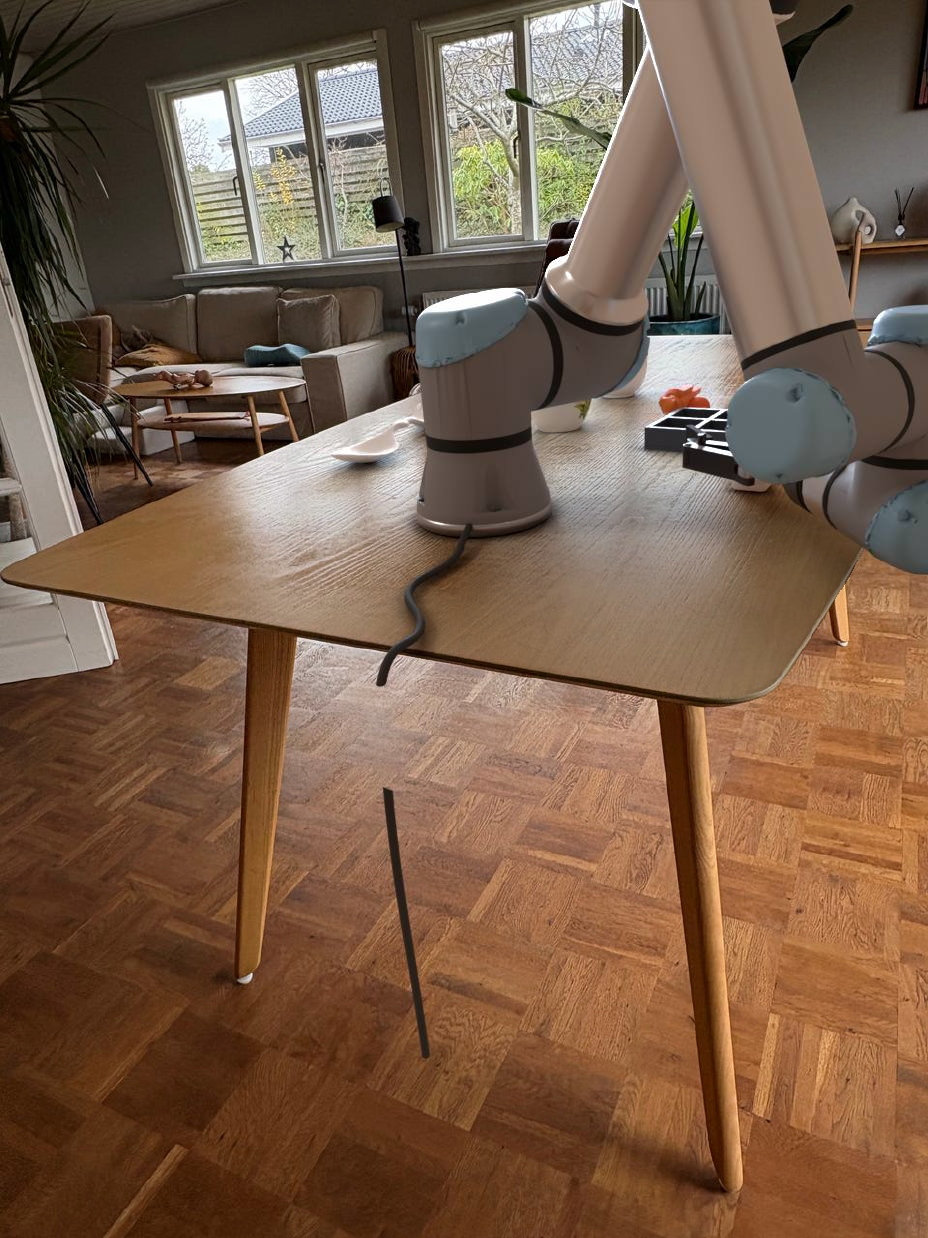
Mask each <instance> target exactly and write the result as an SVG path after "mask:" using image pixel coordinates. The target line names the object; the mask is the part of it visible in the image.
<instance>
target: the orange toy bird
mask: <svg viewBox="0 0 928 1238" xmlns="http://www.w3.org/2000/svg"><path fill="white" fill-rule="evenodd" d="M701 390H702V387H701V386H699V385H693V384H690V383H688V382H687V383H686V384H683V385H681V386H679V387H669V388H667V389H666V390H665V392H664V394H662V395H661V396H660V398H659V400H658V405H659V407H660V410H661V412H662V413H663V415H664V416H666V415H668V414H670V413H671V412H673V411H675V410H677V409H679V408H681V407H688V408H709V409H711V403H710V401H709V400H708V398H707V397H704V396H702V395H699V394H700V393H701Z"/></svg>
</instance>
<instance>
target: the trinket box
mask: <svg viewBox="0 0 928 1238" xmlns="http://www.w3.org/2000/svg"><path fill="white" fill-rule="evenodd" d="M648 356H649V352H648V353H647V356H646V359H645V361H644V363H643V365H642V367H641V369H640V371H639V372H638V373H637V375H636V376H635V377H634V378H633V379H632V380H631V381H630V382H629V383H628V384H627V385H625V386H624V387H622V388H620V389H618V390H616V391H613V392H610V393H609V394H606V395H604V396H602V397H601V398H603V399H624V398H629V397H633V396H635V393H636V392H637V391H638V390H639V389H640V388H641V386H642V385H643V383H644V381H645V378H646V374H647V369H648Z"/></svg>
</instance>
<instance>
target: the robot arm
mask: <svg viewBox="0 0 928 1238" xmlns="http://www.w3.org/2000/svg"><path fill="white" fill-rule="evenodd" d="M620 1H621V2H622V3H623V4H624V5H626V6H628V7H631V8H634V9H638V12H639V16H640V20H641V23H642V27H643V29H644V33H645V36H646V37H645V38H646V40H647V45H646V47H645V50H644V51H643V55H642V57H641V60H640V63H639V65H638V68H637V71H636V72H635V73H636V74H635V76H634V79H633V81H632V84H631V86H630V89H629V92H628V95H627V97H626V99H625V103H624V105H623V108H622V111H621V113H620V116H619V118H618V121H617V124H616V127H615V128H614V131H613V133H612V137H611V139H610V142H609V144H608V147H607V150H606V152H605V156H604V158H603V161H602V163H601V166H600V168H599V171H598V174H597V177H596V179H595V182H594V184H593V187H592V190H591V192H590V195H589V197H588V200H587V203H586V205H585V208H584V211H583V214H582V216H581V219H580V221H579V223H578V226H577V229H576V231H575V234H574V237H573V240H572V242H571V245H570V247H569V251H568V253H567V254H566V255H564V256H560V257H558V258H557V259H555V260H553V261H551V262H550V263H549V265H548V266H547V268H546V271H545V273H544V276H543V279H542V281H541V285H540V286H539V287H540V288H539V289H538V292H537V294H536V296H535V297H534V298H528V299H527V298H526V294H525V292H524V291H522V289H519V288H508V287H506V288H495V289H488V290H483V291H478V292H476V293H467V294H462V295H458V296H454V297H451V298H448V299H445V300H442V301H439V302H437V303H434V304H432V305H430V306H428V307H427V308H425V309H424V310H423V311H422V312H421V313H420V314H419V316H418V318H417V319H416V321H415V322H416V323H415V355H414V356H415V357H414V358H415V361H416V364H417V368H418V378H419V387H420V397H421V408H422V409H423V417H424V426H425V428H424V434H425V435H424V436H425V444H426V445H425V446H426V457H425V463H424V467H423V470H422V471H423V472H422V475H421V480H420V486H419V492H418V495H417V499H416V516H417V523H418V525H419V526H420V527H421V528H423V529H425V530H426V531H429V532H432V533H434V534H437V535H442V536H449V537H457V538H458V537H459V539H458V541H457V545H456V547H455V550H454V552H453V553H452V555H451V556H450V557H448V558H447V559H446V560H444V561H443V562H441V563H440V564H438V565H436V566H434V567H432V568H430V569H428V570H427V571H424V572H423V573H421V574H419V575H418V576H416V577H415V578H414V579H413V580H412V581H411V582H409V584H408V585H407V587H406V588H405V590H404V595H403V596H404V597H403V599H404V603H405V605H406V608H407V609H408V610H409V613H411V615H412V616H413V618H414V621H415V628H414V630H413V632H412V633H411V634H409V635H408V636H406V637H405V638H403V639H401V640H399V641H397V642H396V643H395V644H394V645H392V647H390V649H389V650H388V651H387V652H386V654H385V655H384V657H383V659H382V661H381V663H380V667H379V669H378V673H377V675H376V681H375V685H376V687H379V688H380V687H381V688H382V687H384V686H386V685H387V683H388V677H389V674H390V672H391V671H390V670H391V668H392V665H393V663H394V661H395V659H396V658H397V656H399V655H400V654H401V653H402V652H404V650H406V649H408V648H410V647H411V646H413V645H414V644H416V643H418V641H420V640H421V638H422V637H423V636H424V633H425V629H426V619H425V617H424V614H423V612H422V611H421V609H420V608H419V607H418V606H417V604H416V603H415V600H414V596H413V595H414V592H415V591H416V589H417V588H418V587H419V586H421V585H422V584H424V583H426V582H427V581H428V580H430V579H432V578H434V577H436V576H438V575H440V574H441V573H443V572H445V571H446V570H448V569H450V568H451V567H452V566H453V565H454V564H455V563H456V562H458V560H459V559H460V558H461V556H462V554H463V552H464V550H465V546H466V543H467V541H468V539H469V538H482V537H484V538H485V537H495V536H501V535H508V534H512V533H517V532H521V531H524V530H528V529H530V528H533V527H536V526H537V525H540V524H541V523H543V522H544V521H546V520H547V519H548V518H549V517H550V516H551V514H552V512H553V511H552V508H553V507H552V498H551V491H550V487H549V485H548V484H547V481H546V478H545V475H544V472H543V469H542V466H541V464H540V461H539V458H538V456H537V452H536V450H535V448H534V443H533V428H532V419H531V412H532V411H536V410H541V409H545V408H550V407H555V406H560V405H564V404H569V403H574V402H579V401H583V400H590V399H592V400H593V399H594V400H596V399H600V398H603V397H602V396H604V395H606V394H609V393H610V392H613V391H616V390H618V389H620V388H622V387H624V386H625V385H627V384H628V383H629V382H630V381H631V380H632V379H633V378H634V377H635V376H636V375H637V373H638V372H639V371H640V369H641V367H642V365H643V363H644V361H645V359H646V356H647V353H648V354H649V349H650V343H651V337H649V336H648V332H647V331H648V330H650V329H651V324H650V323H651V322H650V318H649V315H648V311H649V306H650V305H649V299H648V296H647V294H646V291H645V288H644V286H645V284H646V282H647V280H648V278H649V275H650V273H651V271H652V269H653V267H654V266H655V263H656V261H657V259H658V257H659V254H660V252H661V251H662V248H663V245H664V244H665V243H666V240H667V237H668V235H669V233H670V231H671V230H672V227H673V225H674V223H675V222H676V221H675V220H676V219H677V216H678V215H679V213H680V210H681V208H682V206H683V204H684V202H685V200H686V197H687V195H688V193H689V191H690V193H691V197H692V199H693V204H694V208H695V211H696V214H697V218H698V222H699V225H700V228H701V231H702V235H703V239H704V242H705V245H706V249H707V252H708V255H709V259H710V263H711V266H712V270H713V274H714V277H715V281H716V284H717V287H718V290H719V295H720V298H721V301H722V306H723V307H724V308H723V309H724V311H725V315H726V318H727V319H726V320H727V323H728V325H729V329H730V333H731V335H732V336H731V337H732V339H733V343H734V346H735V349H736V354H737V357H738V361H739V364H740V368H741V372H742V375H743V379H744V383H743V384H741V386H739V387H738V389H737V390H736V391H735V392H734V394H733V396H732V397H731V399H730V401H729V403H728V406H727V409H728V410H727V414H728V416H727V426H726V428H725V436H726V441H727V443H726V442H717V441H713V437H712V436H710V435H708V434H707V433H705V432H704V431H702V430H700V429H699V428H697V427H695V426H694V425H686V440H685V444H683V452H682V459H681V462H682V463H681V467H682V468H683V469H686V470H691V471H694V472H698V473H702V474H705V475H710V476H713V477H718V478H721V479H726V480H730V481H732V480H734V481H736V482H738V483H740V484H742V485H744V486H753V485H755V479H758V480H760V481H763V482H767V483H771V485H781V486H782V488H783V491H784V493H785V494H786V495H787V497H788V498H789V499H790V501H791V502H793V503H794V504H795V505H797V506H798V507H800V508H801V509H803V510H804V511H806V512H808V513H809V514H810V515H813V516H814V517H816V518H817V519H820V520H821V521H823V522H824V523H826V524H828V525H829V526H831V527H833V528H834V530H836V531H838V532H839V533H841V534H842V535H844V536H845V537H847V538H848V539H849V540H851V541H852V542H854V543H855V544H856V545H858V546H859V547H861V548H862V549H863V550H865V551H867V552H868V553H869V554H870V555H871V556H872V557H873V558H874V559H876V560H879V561H881V562H884V563H885V564H888V565H890V566H891V567H894V568H896V569H898V570H900V571H902V572H905V573H908V574H911V575H919V576H920V575H921V576H922V575H927V576H928V304H917V305H915V304H914V305H904V306H896V307H892V308H888V309H885V310H882V311H881V312H880V313H878V315H877V317H876V318H875V319H874V321H873V323H872V327H871V332H870V336H869V338H868V340H867V342H866V347H865V348H864V346H863V342H862V338H861V335H860V333H859V329H858V327H857V323H856V319H855V315H854V311H853V308H852V304H851V300H850V297H849V294H848V289H847V286H846V282H845V279H844V275H843V271H842V267H841V263H840V260H839V256H838V252H837V248H836V246H835V241H834V237H833V234H832V230H831V226H830V222H829V219H828V216H827V211H826V207H825V204H824V200H823V196H822V192H821V189H820V186H819V185H820V184H819V181H818V177H817V174H816V171H815V166H814V163H813V160H812V155H811V152H810V148H809V143H808V140H807V136H806V133H805V130H804V125H803V121H802V118H801V114H800V111H799V107H798V104H797V100H796V97H795V93H794V92H795V91H794V88H793V85H792V81H791V78H790V73H789V71H788V67H787V63H786V58H785V55H784V51H783V48H782V44H781V39H780V36H779V33H778V29H777V25H780V24H781V23H784V22H785V21H787V20H789V19H791V18H792V17H793V16H794V15H795V13H796V10H797V9H798V7H799V5H800V2H801V1H802V0H620ZM647 357H648V356H647ZM382 795H383V804H384V814H385V822H386V832H387V839H388V848H389V858H390V864H391V871H392V877H393V884H394V890H395V897H396V904H397V910H398V917H399V922H400V929H401V935H402V941H403V945H404V953H405V959H406V963H407V964H406V965H407V970H408V975H409V981H410V987H411V988H410V989H411V994H412V1000H413V1005H414V1006H413V1007H414V1013H415V1018H416V1024H417V1032H418V1040H419V1045H420V1052H421V1057H422V1059H424V1060H428V1059H429V1058H430V1056H431V1051H430V1044H429V1037H428V1030H427V1023H426V1016H425V1009H424V1003H423V997H422V989H421V983H420V979H419V973H418V966H417V960H416V959H417V958H416V953H415V947H414V941H413V935H412V934H413V933H412V929H411V923H410V915H409V910H408V903H407V897H406V896H407V895H406V889H405V882H404V876H403V868H402V867H403V866H402V860H401V853H400V845H399V837H398V827H397V826H398V825H397V818H396V810H395V809H396V807H395V799H394V790H391V789H390V788H387V787H384V786H382Z"/></svg>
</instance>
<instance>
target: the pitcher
mask: <svg viewBox="0 0 928 1238" xmlns="http://www.w3.org/2000/svg"><path fill="white" fill-rule="evenodd" d="M592 400H593V399H590V400H583V401H579V402H574V403H569V404H564V405H560V406H555V407H550V408H545V409H541V410H536V411H532V412H531V422H532V423H533V424H534V425H535V427H536V428H537V430H538V431H540V432H544V433H567V432H573V431H575V430H578V429H579V428H581V425H582V424H583V423H584V421H585V420H586V417H587V416H588V413H589V410H590V407H591V404H592Z"/></svg>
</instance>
